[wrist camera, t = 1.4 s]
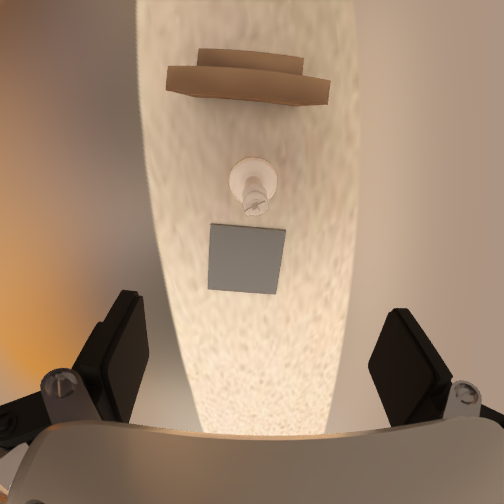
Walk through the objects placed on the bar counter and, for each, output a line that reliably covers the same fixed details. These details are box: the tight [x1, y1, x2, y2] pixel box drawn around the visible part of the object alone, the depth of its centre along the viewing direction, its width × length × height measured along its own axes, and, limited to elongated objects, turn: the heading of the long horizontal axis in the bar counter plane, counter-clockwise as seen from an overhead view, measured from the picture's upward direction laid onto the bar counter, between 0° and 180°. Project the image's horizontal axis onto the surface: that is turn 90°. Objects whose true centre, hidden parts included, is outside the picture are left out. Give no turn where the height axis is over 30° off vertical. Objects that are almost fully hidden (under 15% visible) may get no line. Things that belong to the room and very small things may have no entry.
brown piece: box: [166, 49, 330, 106], centre depth 22 cm, size 5×10×12 cm, turn 84°
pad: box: [208, 224, 286, 294], centre depth 35 cm, size 8×8×1 cm
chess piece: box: [229, 158, 277, 216], centre depth 27 cm, size 5×5×10 cm
